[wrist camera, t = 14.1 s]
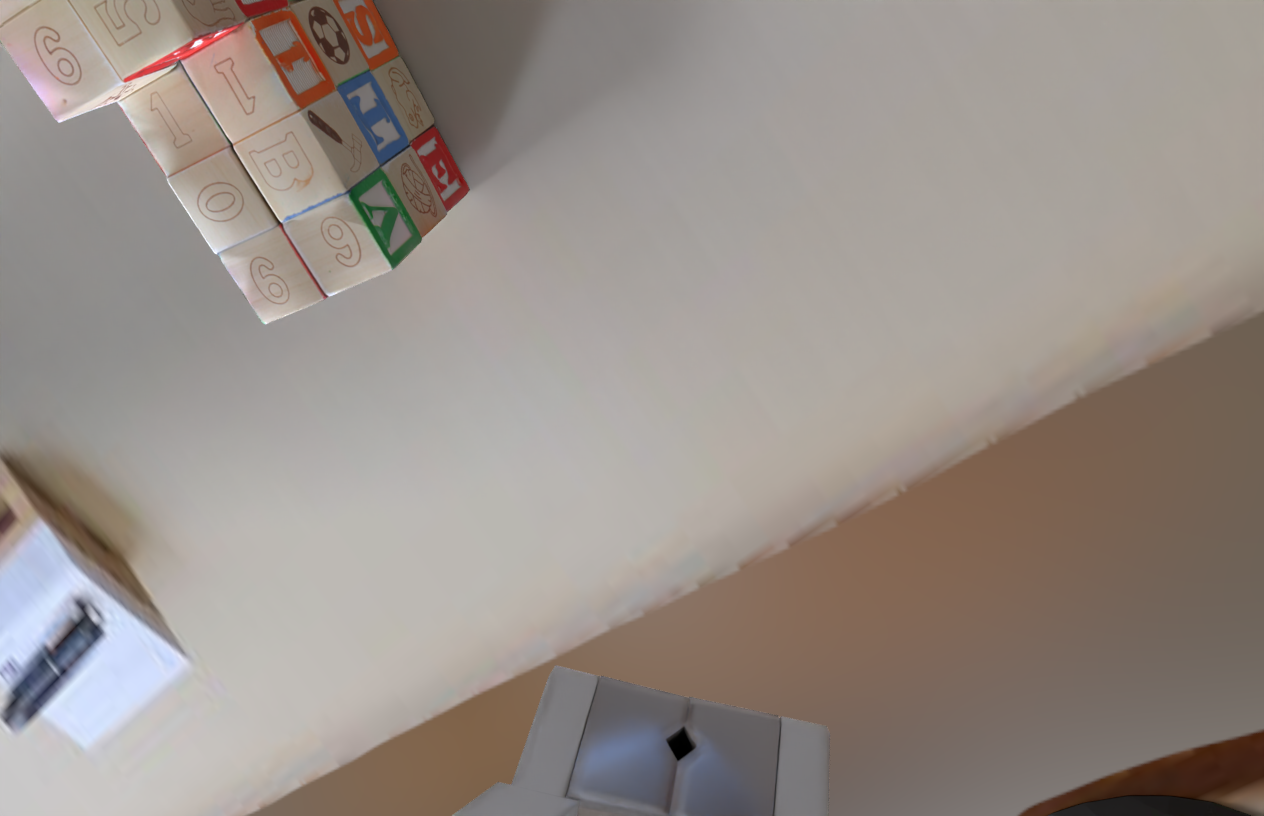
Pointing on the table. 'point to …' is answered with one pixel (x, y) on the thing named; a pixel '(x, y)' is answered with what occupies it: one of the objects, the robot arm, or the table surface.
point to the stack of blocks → (258, 127)
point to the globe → (1149, 807)
